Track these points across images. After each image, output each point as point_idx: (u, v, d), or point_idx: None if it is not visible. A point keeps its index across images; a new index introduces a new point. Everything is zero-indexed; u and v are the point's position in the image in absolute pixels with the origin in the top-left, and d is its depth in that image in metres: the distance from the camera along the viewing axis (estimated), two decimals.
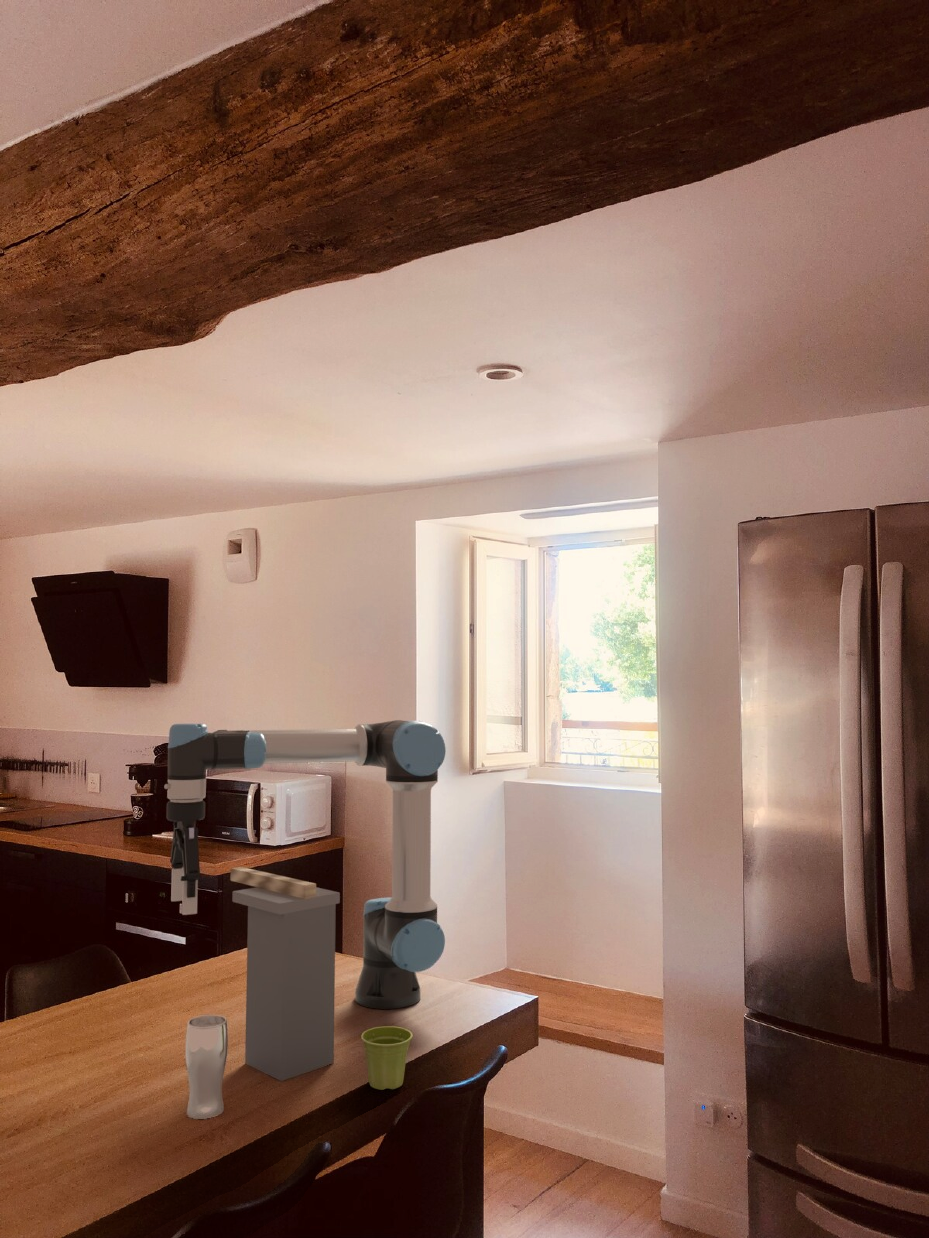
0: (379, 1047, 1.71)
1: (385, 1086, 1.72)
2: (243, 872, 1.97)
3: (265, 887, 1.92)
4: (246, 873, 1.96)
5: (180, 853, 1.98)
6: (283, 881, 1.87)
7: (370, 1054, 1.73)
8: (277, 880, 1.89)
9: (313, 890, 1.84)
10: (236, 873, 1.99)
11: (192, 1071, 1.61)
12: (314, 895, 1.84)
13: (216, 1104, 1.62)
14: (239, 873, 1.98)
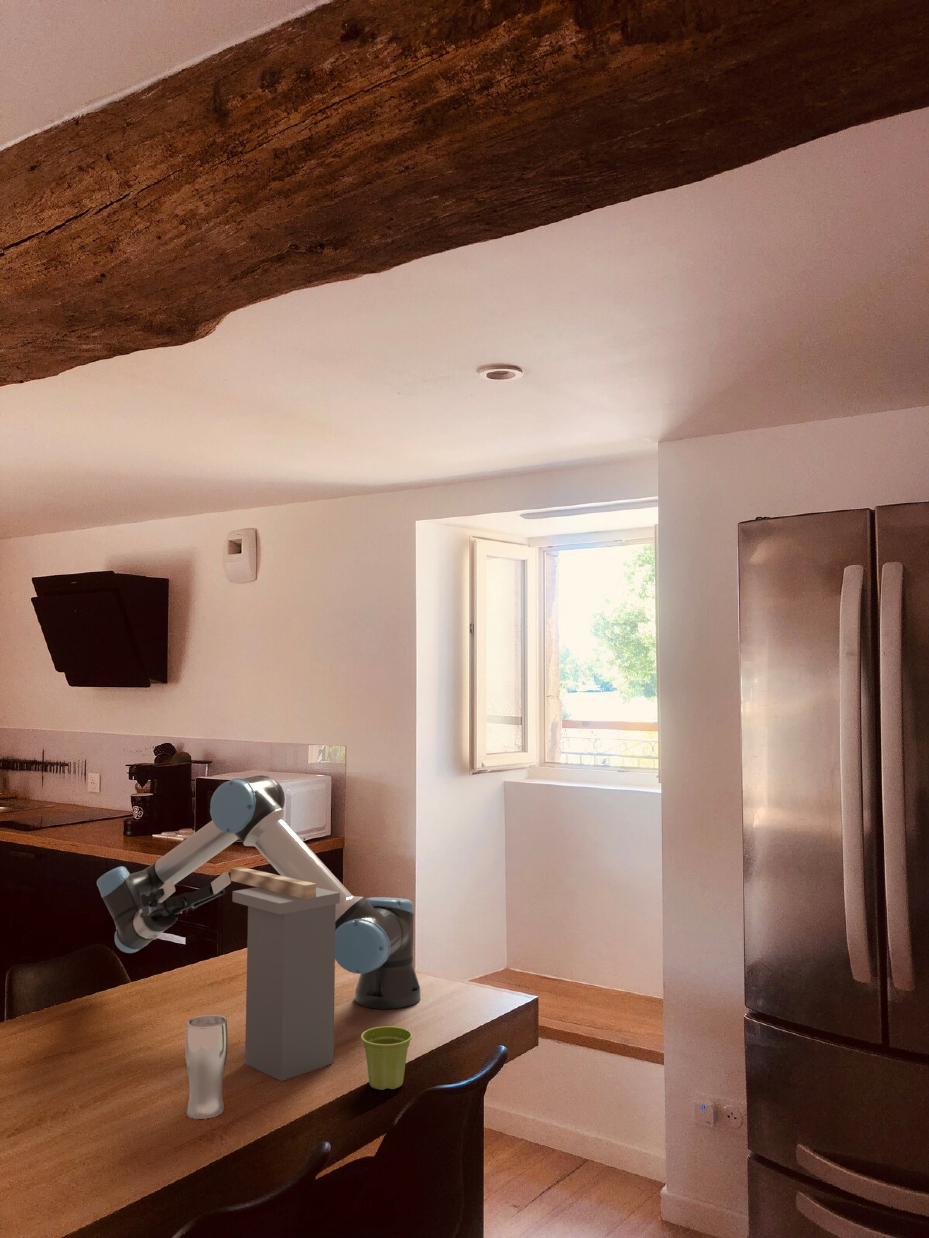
0: (379, 1047, 1.71)
1: (385, 1086, 1.72)
2: (243, 872, 1.97)
3: (265, 887, 1.92)
4: (246, 873, 1.96)
5: (198, 895, 2.19)
6: (283, 881, 1.87)
7: (370, 1055, 1.73)
8: (277, 880, 1.89)
9: (313, 890, 1.84)
10: (236, 873, 1.99)
11: (192, 1071, 1.61)
12: (314, 895, 1.84)
13: (216, 1104, 1.62)
14: (239, 873, 1.98)
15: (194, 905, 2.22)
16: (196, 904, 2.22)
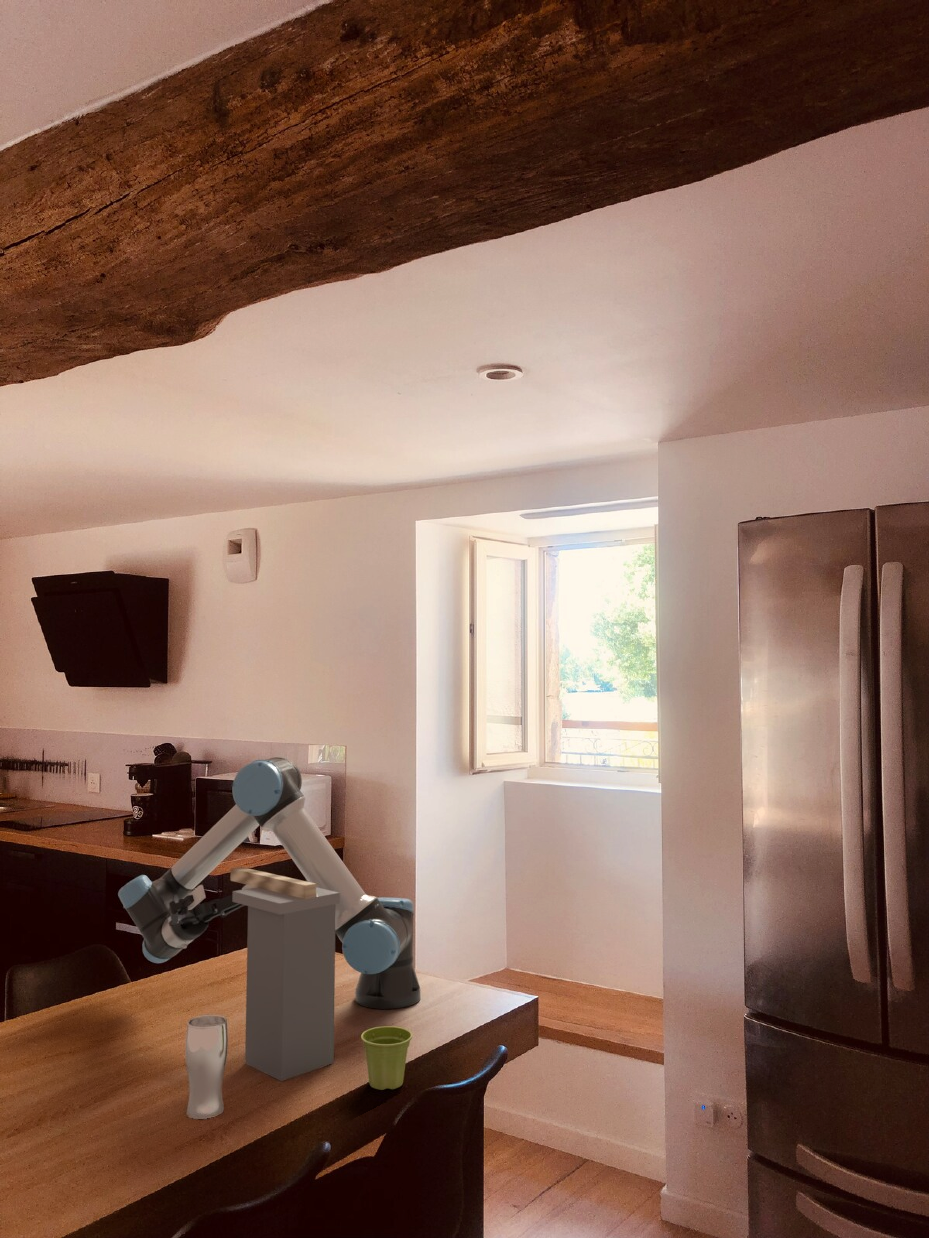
0: (379, 1047, 1.71)
1: (385, 1086, 1.72)
2: (243, 872, 1.97)
3: (265, 887, 1.92)
4: (246, 873, 1.96)
5: (228, 901, 2.10)
6: (283, 881, 1.87)
7: (370, 1055, 1.73)
8: (277, 880, 1.89)
9: (313, 890, 1.84)
10: (236, 873, 1.99)
11: (192, 1071, 1.61)
12: (314, 895, 1.84)
13: (216, 1104, 1.62)
14: (239, 873, 1.98)
15: (225, 912, 2.13)
16: (227, 911, 2.13)
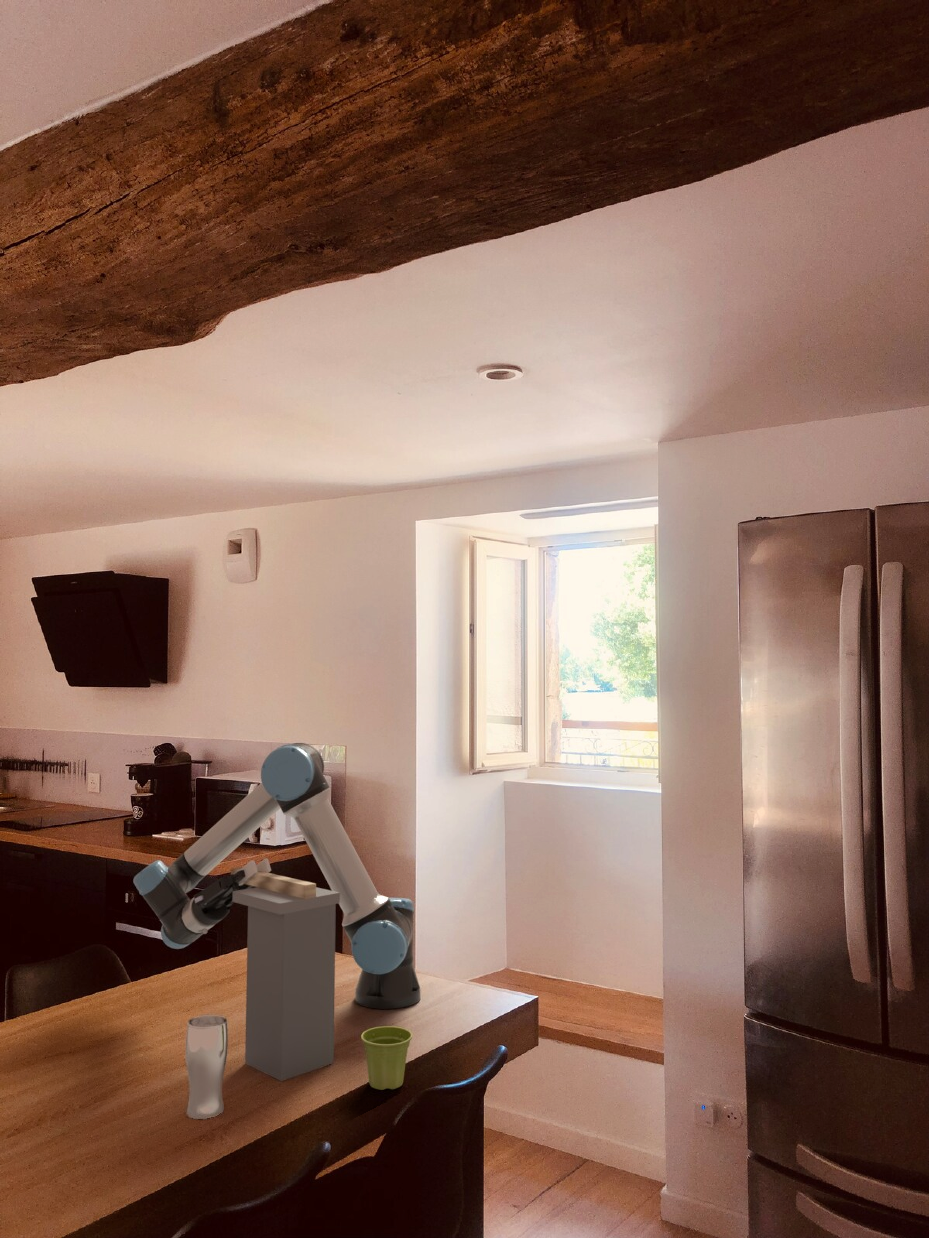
0: (379, 1047, 1.71)
1: (385, 1086, 1.72)
2: None
3: (265, 887, 1.92)
4: None
5: (240, 886, 2.02)
6: (283, 881, 1.87)
7: (370, 1054, 1.73)
8: (277, 880, 1.89)
9: (313, 890, 1.84)
10: None
11: (192, 1071, 1.61)
12: (314, 895, 1.84)
13: (216, 1104, 1.62)
14: None
15: None
16: None
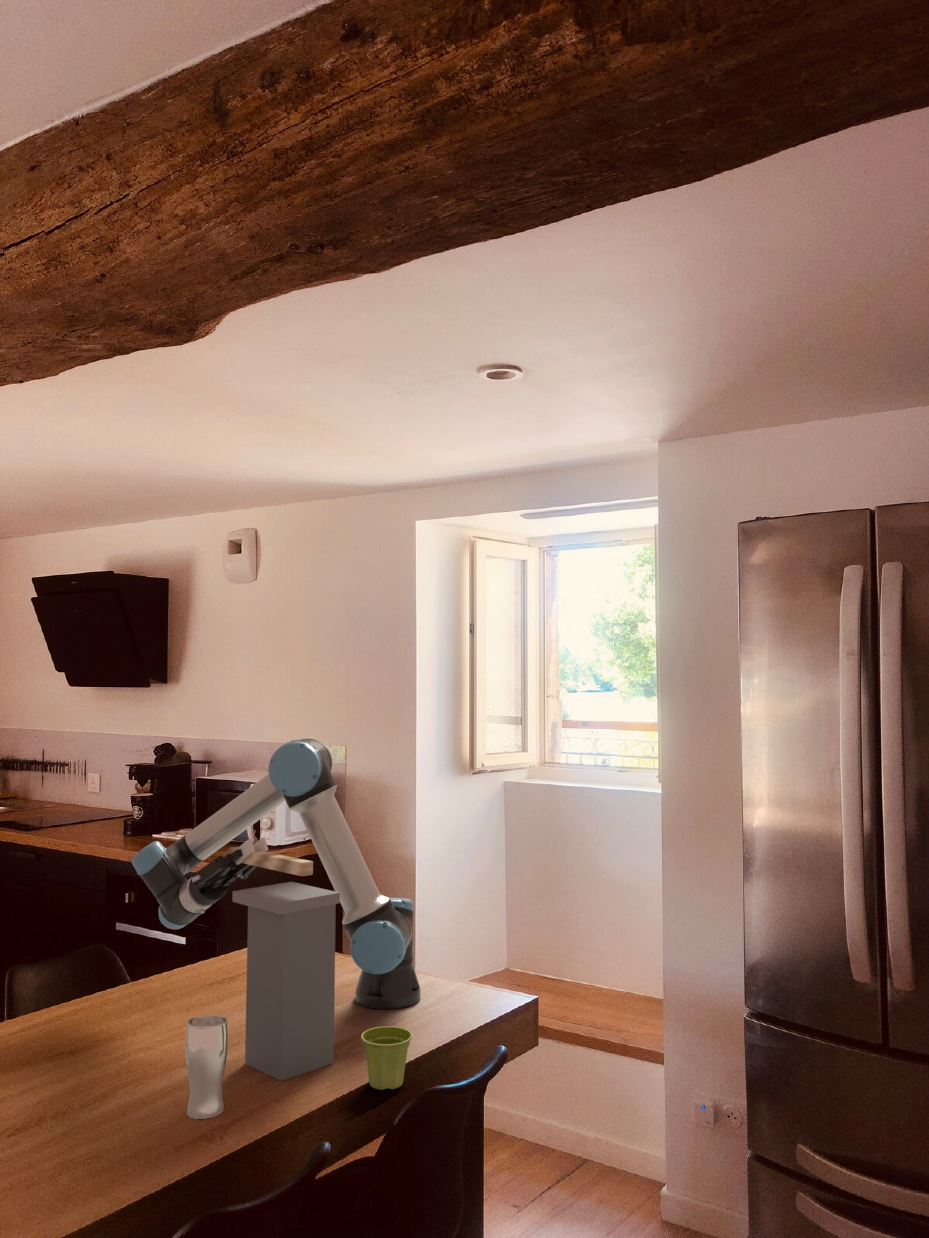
0: (379, 1047, 1.72)
1: (385, 1086, 1.72)
2: None
3: (262, 865, 1.93)
4: None
5: (237, 865, 2.03)
6: (280, 859, 1.89)
7: (370, 1054, 1.73)
8: (274, 858, 1.90)
9: (310, 867, 1.85)
10: None
11: (192, 1071, 1.61)
12: (311, 873, 1.85)
13: (216, 1104, 1.62)
14: None
15: (242, 875, 2.08)
16: (243, 874, 2.07)
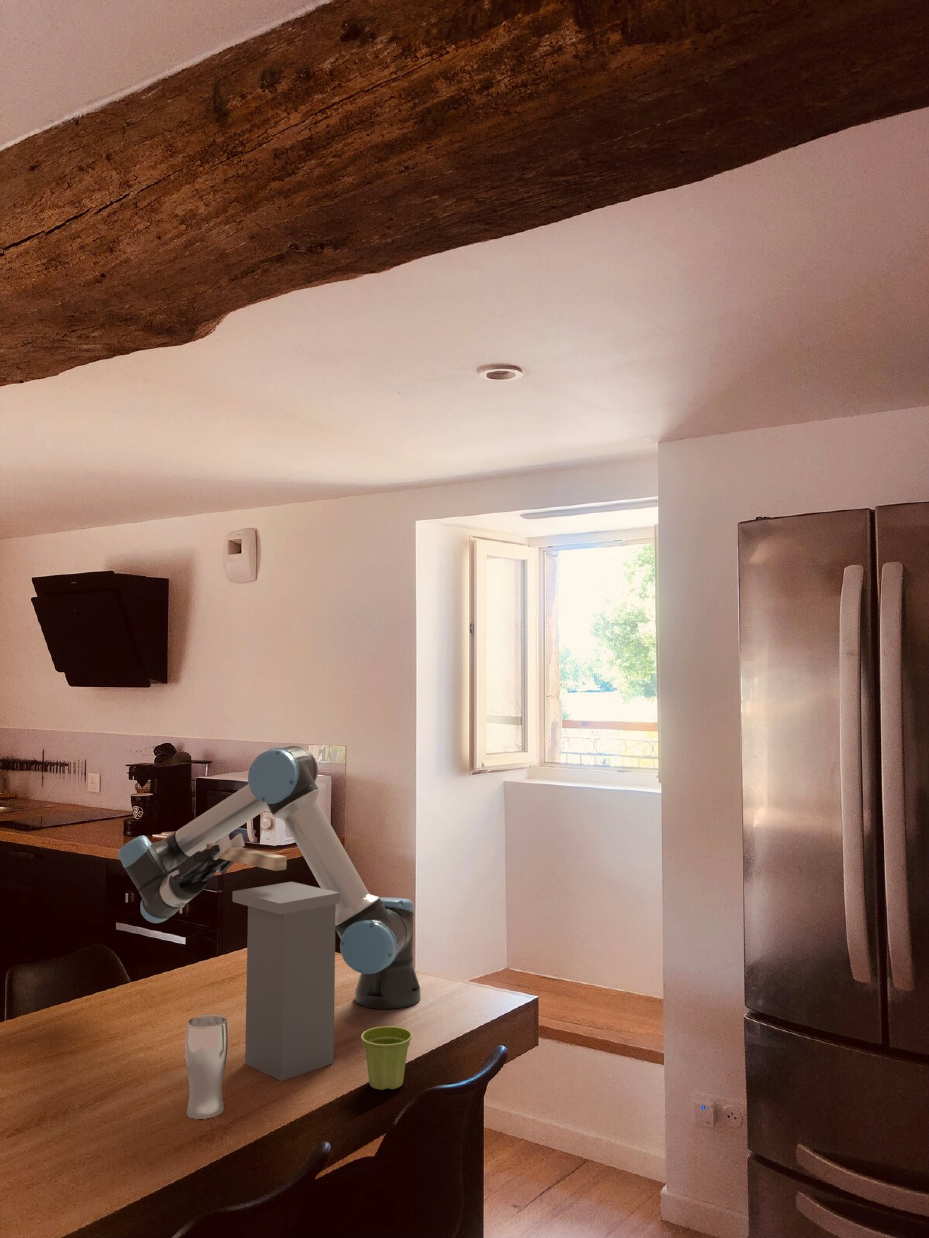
0: (379, 1047, 1.71)
1: (385, 1086, 1.72)
2: None
3: (238, 861, 1.99)
4: None
5: (215, 861, 2.10)
6: (255, 854, 1.95)
7: (370, 1055, 1.73)
8: (250, 853, 1.96)
9: (284, 862, 1.91)
10: None
11: (192, 1071, 1.61)
12: (284, 867, 1.91)
13: (216, 1104, 1.62)
14: None
15: (221, 870, 2.14)
16: (221, 869, 2.13)
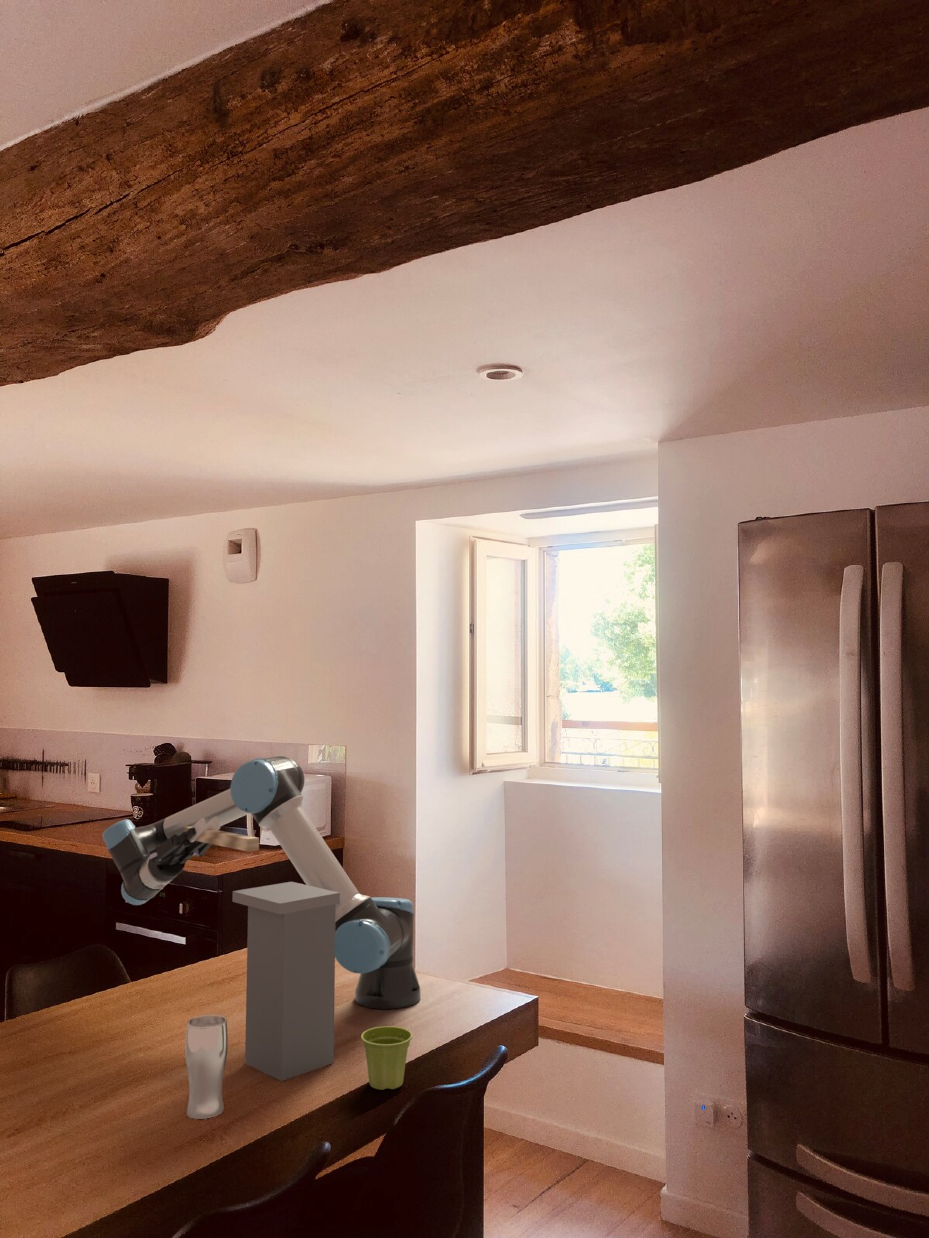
0: (379, 1047, 1.71)
1: (385, 1086, 1.72)
2: None
3: (213, 843, 2.06)
4: None
5: (193, 844, 2.16)
6: (229, 836, 2.02)
7: (370, 1054, 1.73)
8: (224, 835, 2.03)
9: (256, 843, 1.98)
10: None
11: (192, 1071, 1.61)
12: (257, 848, 1.98)
13: (216, 1104, 1.62)
14: None
15: (198, 853, 2.21)
16: (199, 852, 2.20)
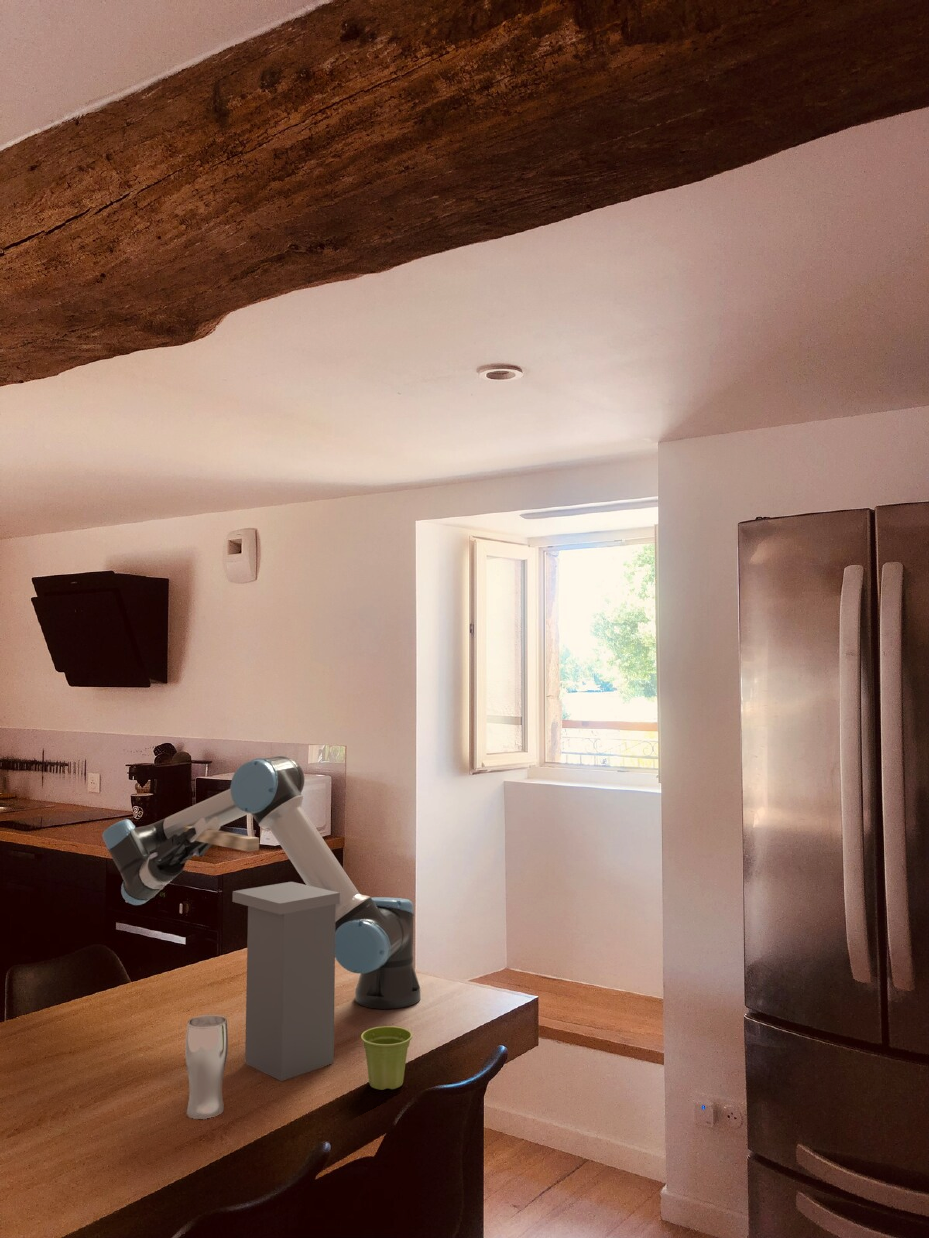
0: (379, 1047, 1.71)
1: (385, 1086, 1.72)
2: None
3: (213, 843, 2.06)
4: None
5: (193, 844, 2.16)
6: (229, 836, 2.02)
7: (370, 1055, 1.73)
8: (224, 835, 2.03)
9: (256, 843, 1.98)
10: None
11: (192, 1071, 1.61)
12: (257, 848, 1.98)
13: (216, 1104, 1.62)
14: None
15: (198, 853, 2.21)
16: (199, 852, 2.20)
